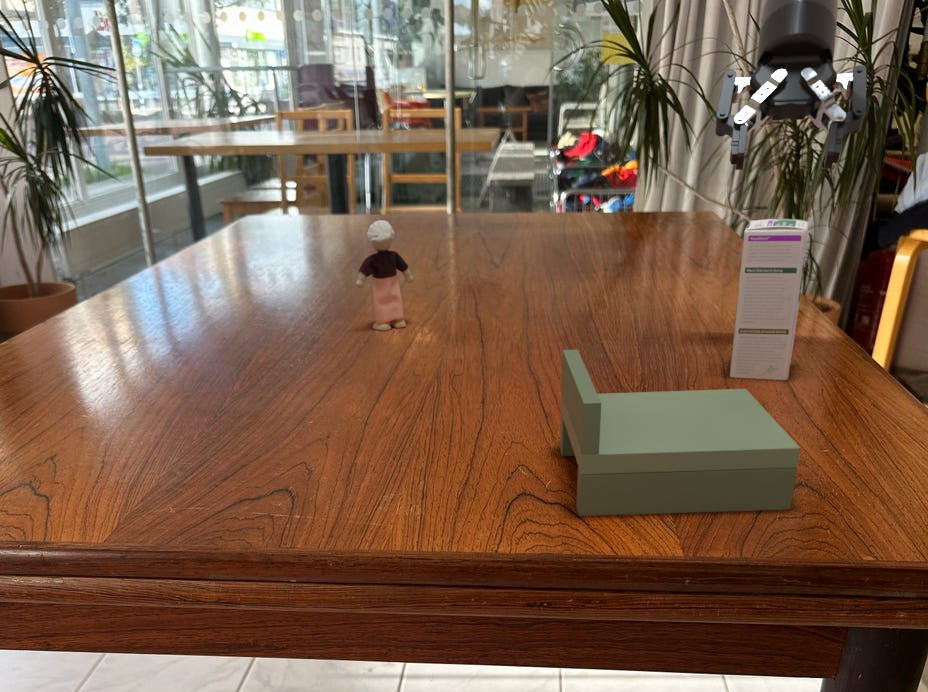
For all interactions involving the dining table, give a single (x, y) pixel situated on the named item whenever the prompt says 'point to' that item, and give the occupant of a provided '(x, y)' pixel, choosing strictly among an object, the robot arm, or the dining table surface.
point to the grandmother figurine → (384, 277)
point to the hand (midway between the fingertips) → (784, 163)
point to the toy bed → (672, 449)
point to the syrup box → (768, 298)
